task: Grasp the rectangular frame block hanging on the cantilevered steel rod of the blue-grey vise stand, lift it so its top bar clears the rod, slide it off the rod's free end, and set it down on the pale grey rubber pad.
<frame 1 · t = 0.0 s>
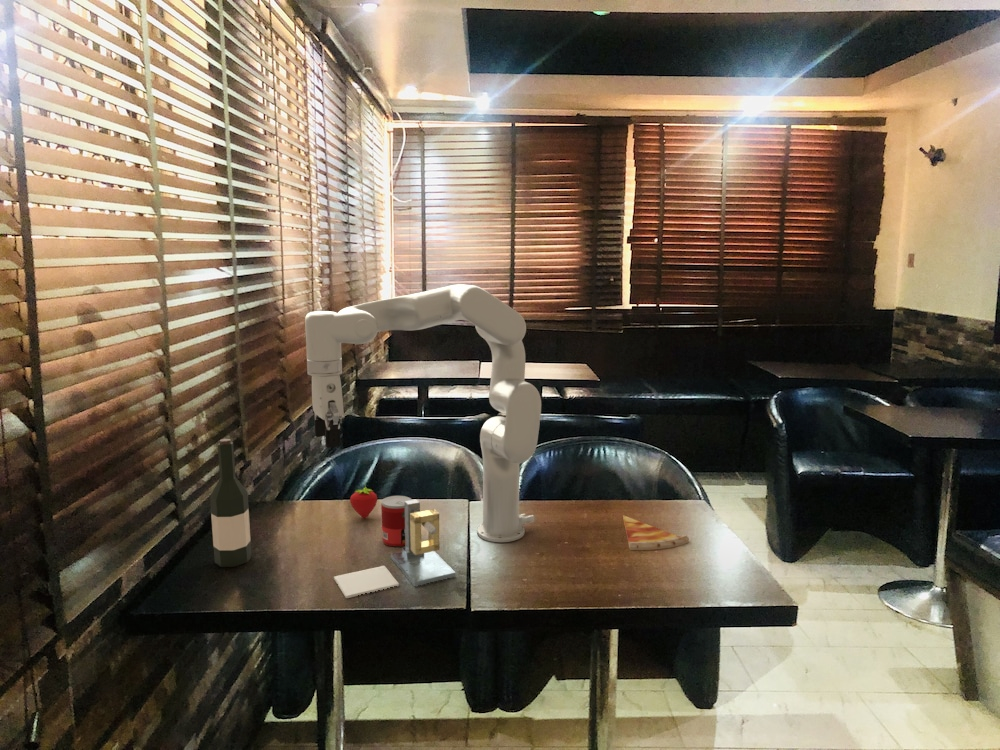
hand: (327, 441, 155), 31 cm above the table, fingers open, 9 cm apart
wine bottle: (233, 560, 165), on the table
stand: (422, 567, 162), on the table
pad: (366, 582, 154), on the table
pizza slice: (655, 535, 182), on the table
rectangular frame block: (425, 549, 159), point 5 cm above the table, touching stand
canned food: (397, 541, 176), on the table
strawberry: (364, 518, 191), on the table
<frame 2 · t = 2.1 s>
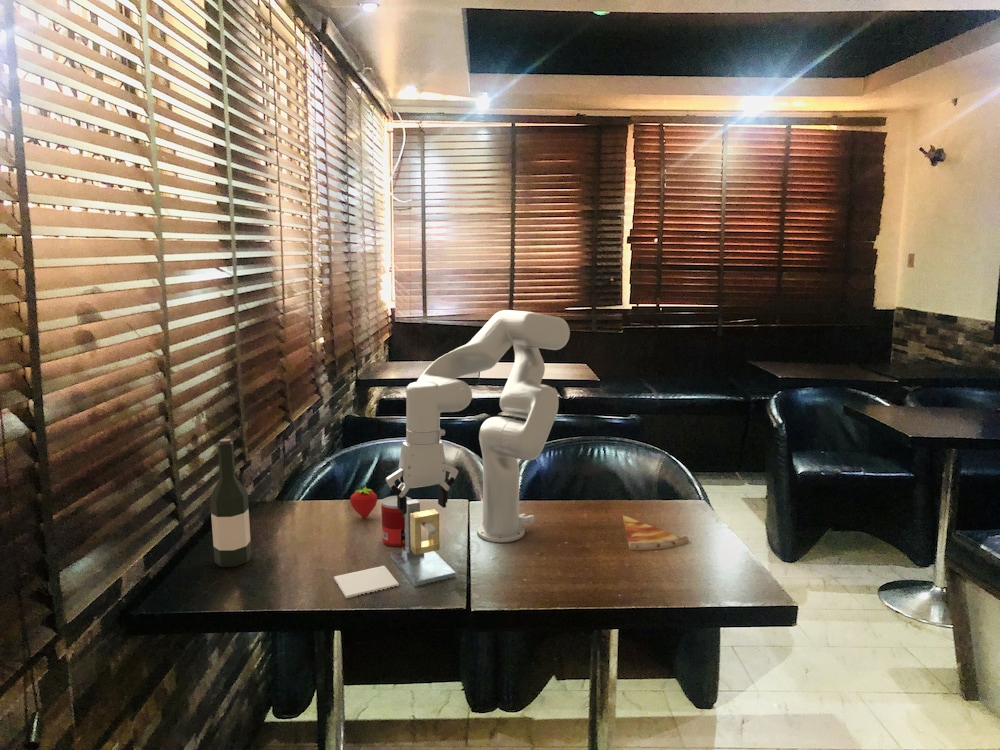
hand: (422, 508, 157), 16 cm above the table, fingers open, 9 cm apart
nothing on the table moved.
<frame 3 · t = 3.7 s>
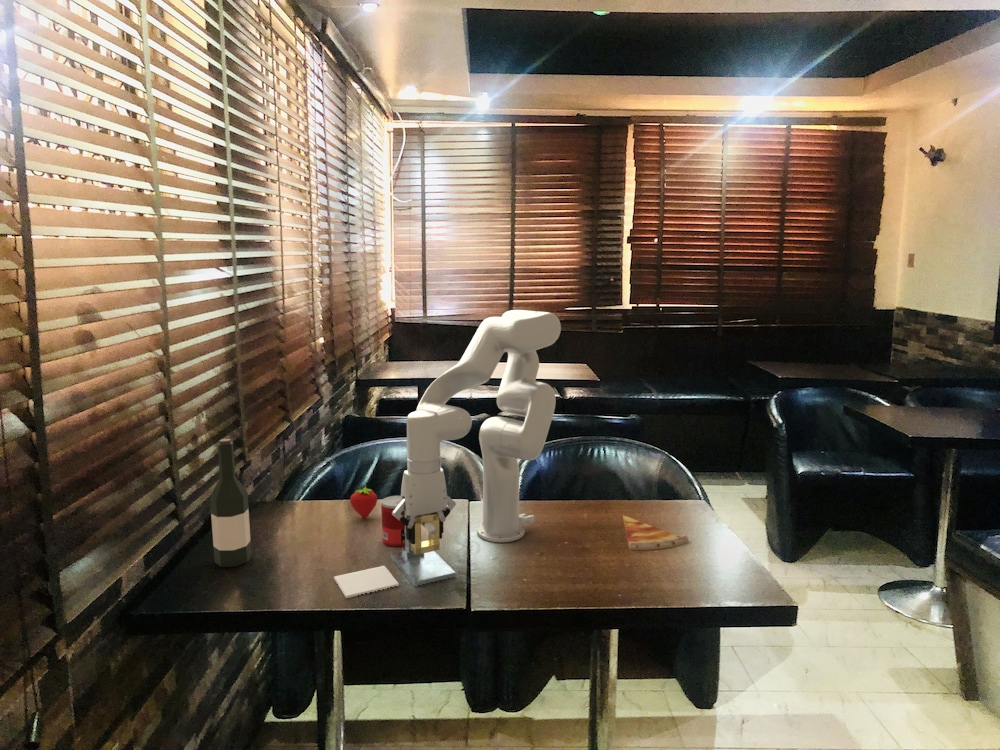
hand: (424, 538, 158), 8 cm above the table, fingers closed on rectangular frame block, 6 cm apart
rectangular frame block: (425, 549, 159), point 5 cm above the table, touching gripper, stand
everything else where it was.
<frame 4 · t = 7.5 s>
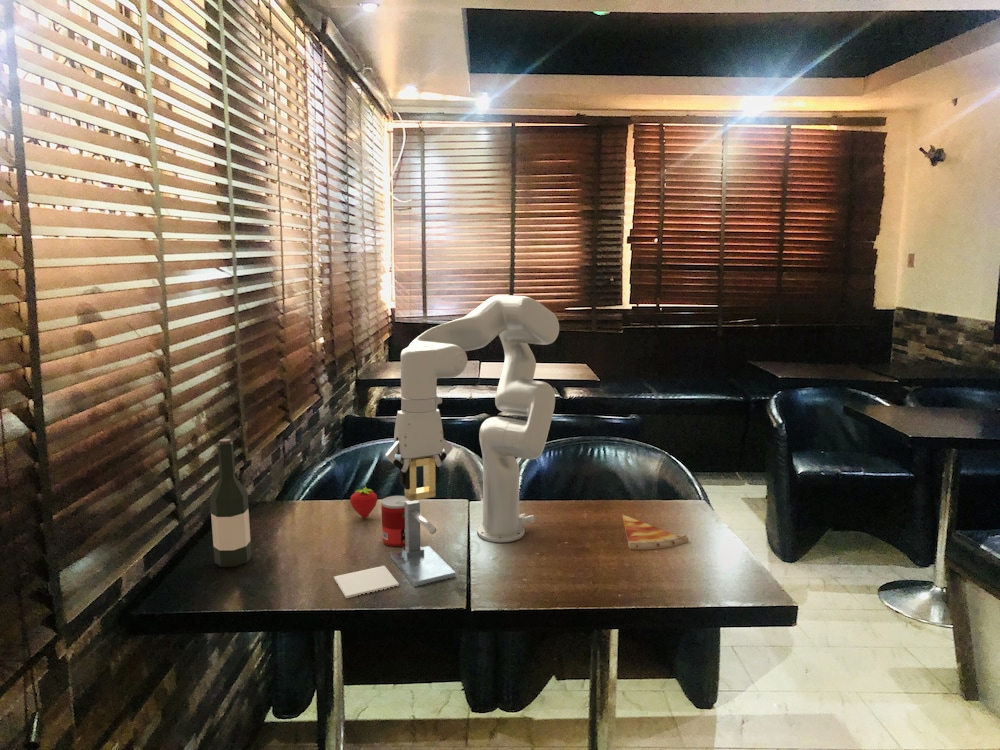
hand: (419, 484, 149), 24 cm above the table, fingers closed on rectangular frame block, 6 cm apart
rectangular frame block: (420, 496, 149), point 21 cm above the table, touching gripper
everything else where it was.
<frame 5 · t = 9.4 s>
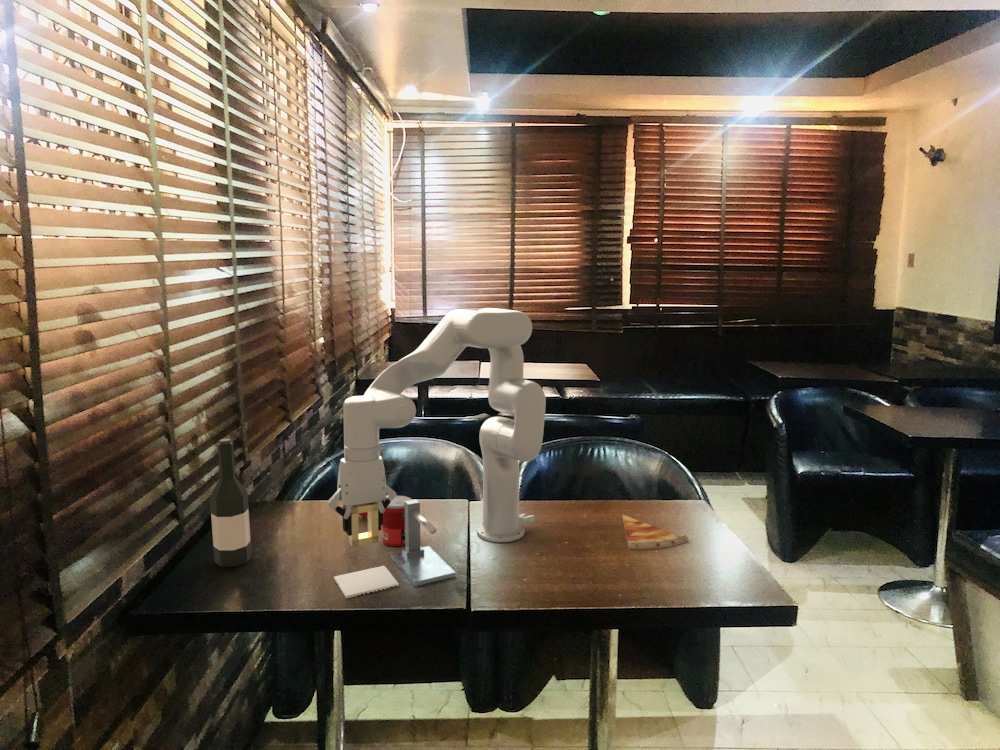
hand: (363, 530, 152), 13 cm above the table, fingers closed on rectangular frame block, 6 cm apart
rectangular frame block: (363, 542, 152), point 10 cm above the table, touching gripper
everything else where it was.
when the fingers open (4 cm above the table, at t = 11.2 s): rectangular frame block stays where it is, resting on pad.
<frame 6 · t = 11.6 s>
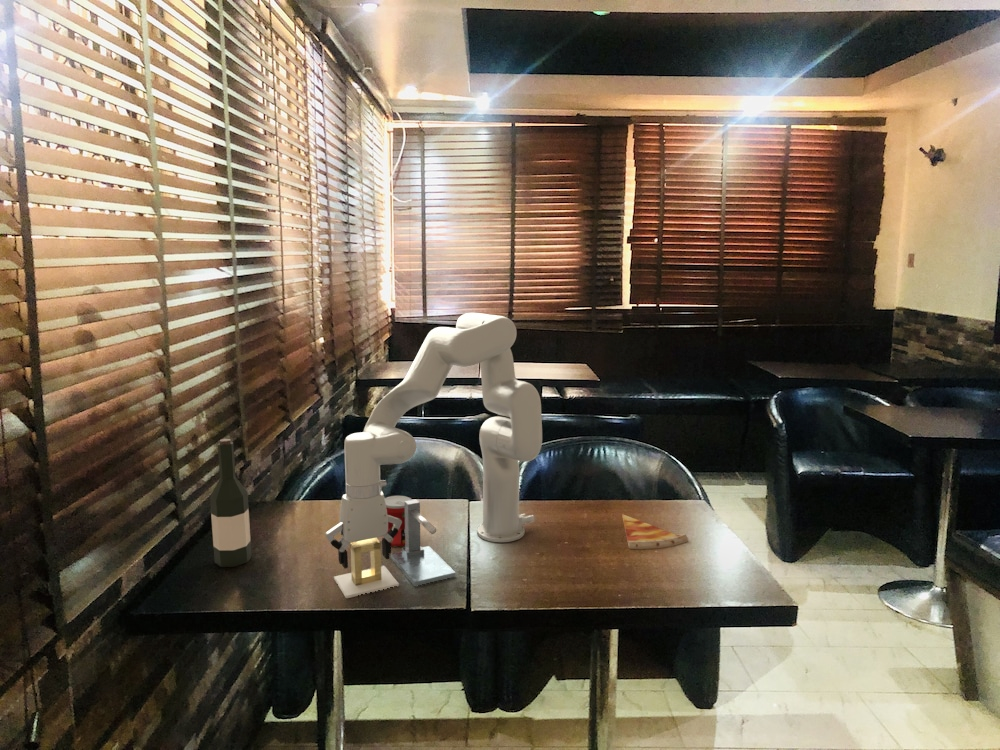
hand: (365, 561, 153), 5 cm above the table, fingers open, 9 cm apart
rectangular frame block: (366, 579, 154), point 1 cm above the table, touching pad
everything else where it was.
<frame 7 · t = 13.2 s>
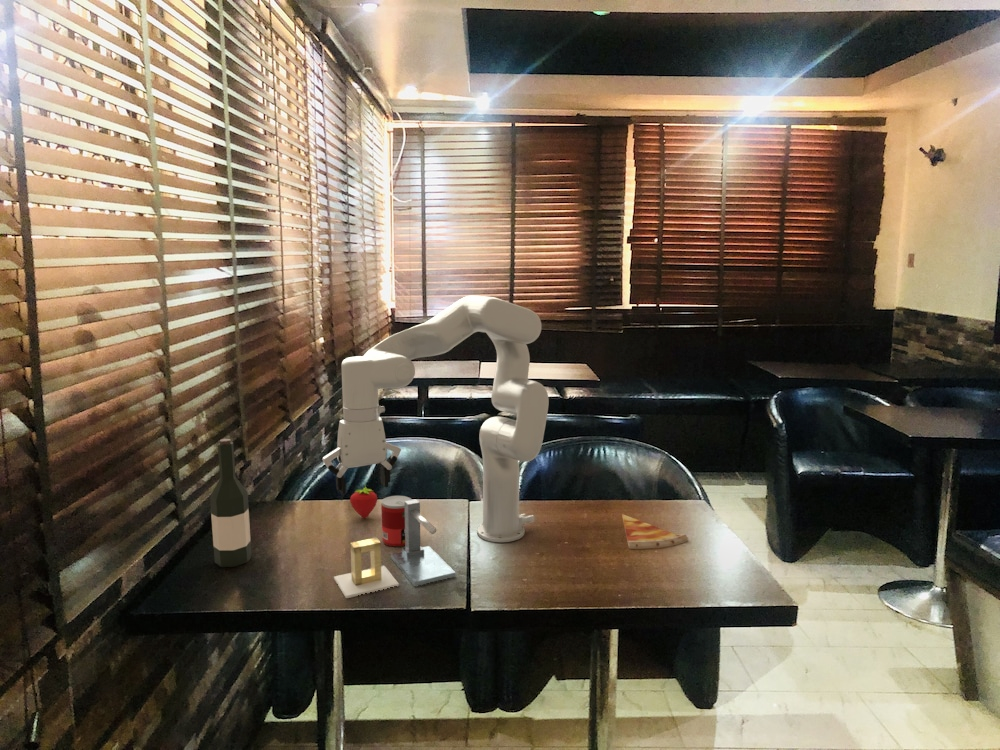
hand: (363, 489, 150), 22 cm above the table, fingers open, 9 cm apart
nothing on the table moved.
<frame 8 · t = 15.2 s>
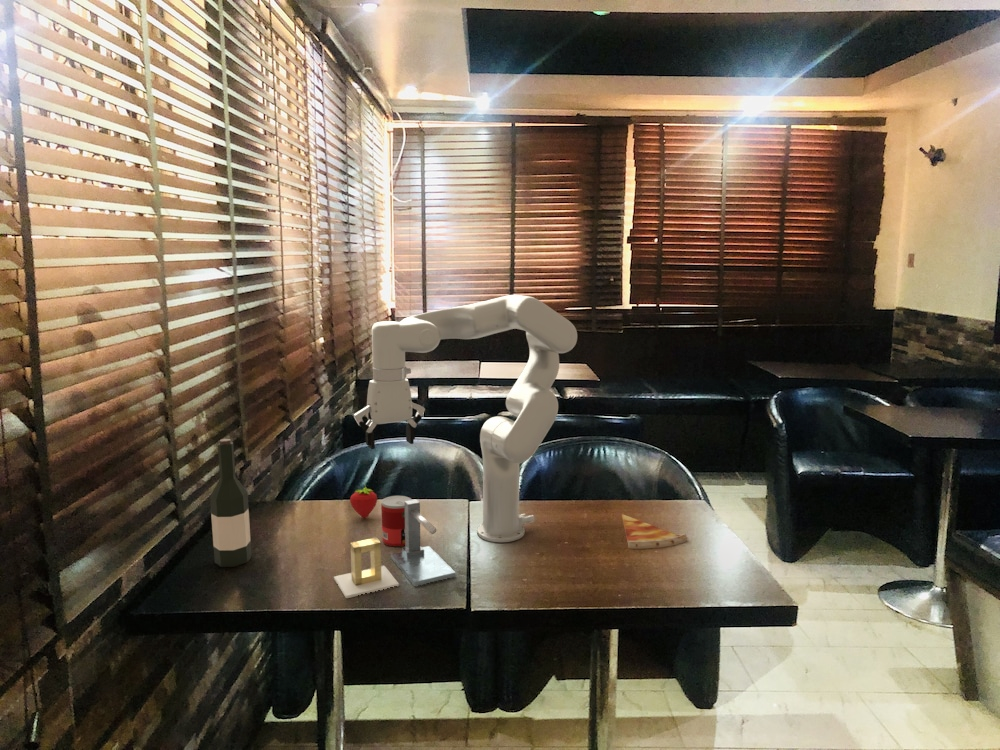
hand: (390, 445, 162), 28 cm above the table, fingers open, 9 cm apart
nothing on the table moved.
at the end: rectangular frame block inside the target area on the pad (0.1 cm from its centre), point 0.6 cm above the pad's base; rectangular frame block touching pad; the gripper is holding nothing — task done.
